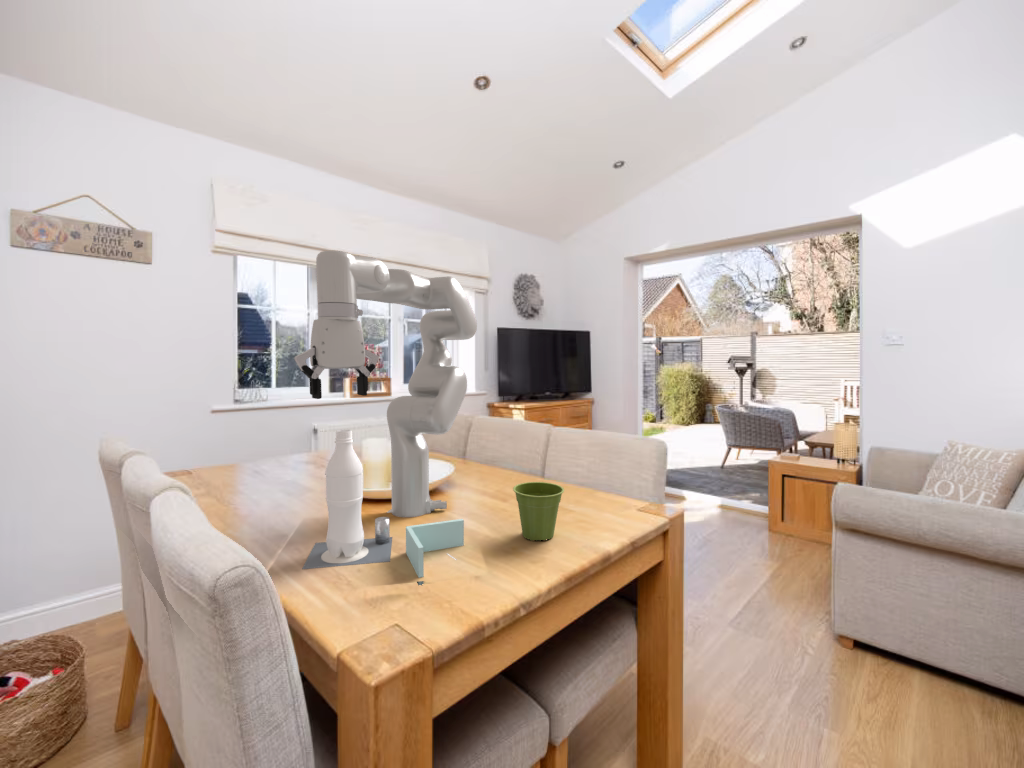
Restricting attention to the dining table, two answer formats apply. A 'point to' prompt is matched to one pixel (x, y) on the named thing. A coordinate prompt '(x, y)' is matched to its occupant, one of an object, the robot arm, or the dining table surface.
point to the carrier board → (365, 556)
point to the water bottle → (344, 498)
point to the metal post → (382, 530)
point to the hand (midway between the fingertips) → (340, 396)
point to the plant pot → (538, 508)
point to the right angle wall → (432, 540)
